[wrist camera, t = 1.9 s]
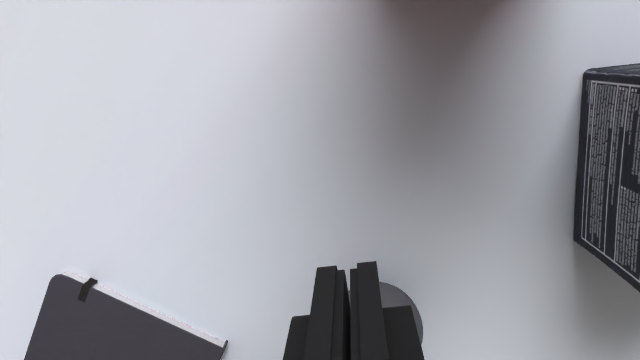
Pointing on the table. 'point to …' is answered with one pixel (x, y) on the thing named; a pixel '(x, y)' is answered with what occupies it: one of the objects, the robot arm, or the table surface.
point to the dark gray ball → (399, 303)
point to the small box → (610, 169)
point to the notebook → (110, 327)
